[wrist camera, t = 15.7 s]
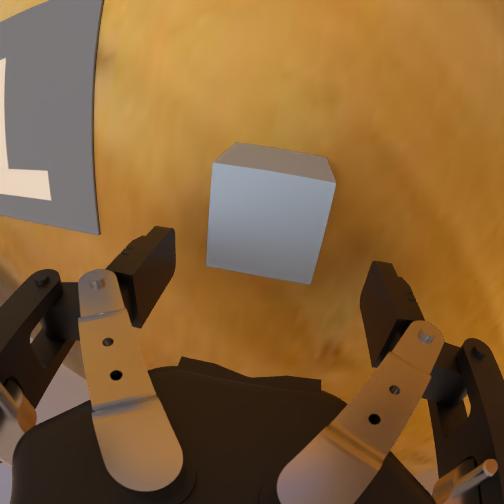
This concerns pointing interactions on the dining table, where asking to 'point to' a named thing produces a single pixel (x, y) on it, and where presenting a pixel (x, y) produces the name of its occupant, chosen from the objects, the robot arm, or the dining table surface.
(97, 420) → the robot arm
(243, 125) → the dining table surface
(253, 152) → the gray cube
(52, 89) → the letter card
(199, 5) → the dining table surface
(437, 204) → the dining table surface
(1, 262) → the dining table surface
